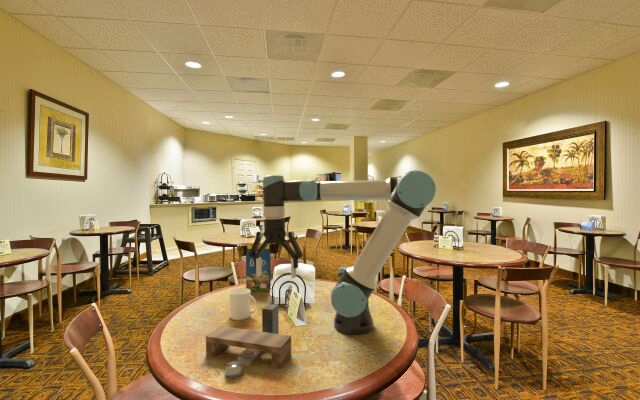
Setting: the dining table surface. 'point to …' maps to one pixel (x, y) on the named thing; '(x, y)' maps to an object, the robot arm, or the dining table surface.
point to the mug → (241, 303)
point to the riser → (250, 343)
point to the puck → (234, 369)
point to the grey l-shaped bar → (268, 325)
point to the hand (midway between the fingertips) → (276, 276)
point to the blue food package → (251, 276)
